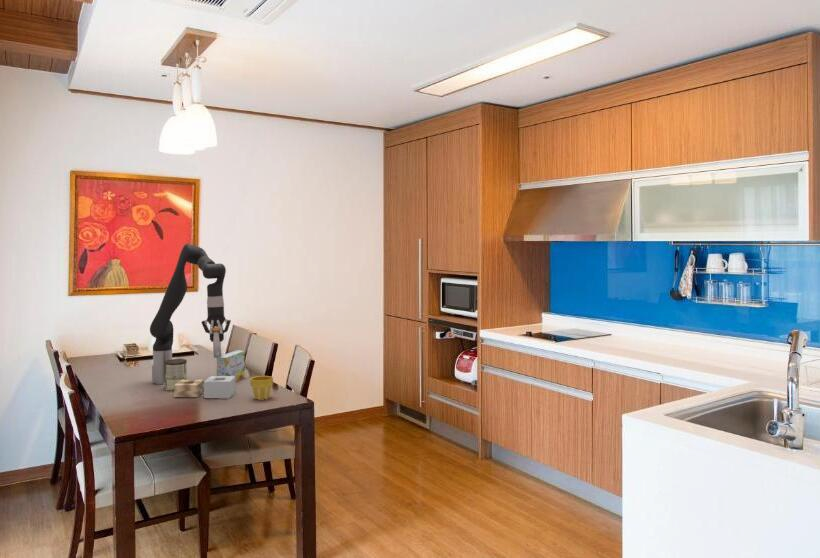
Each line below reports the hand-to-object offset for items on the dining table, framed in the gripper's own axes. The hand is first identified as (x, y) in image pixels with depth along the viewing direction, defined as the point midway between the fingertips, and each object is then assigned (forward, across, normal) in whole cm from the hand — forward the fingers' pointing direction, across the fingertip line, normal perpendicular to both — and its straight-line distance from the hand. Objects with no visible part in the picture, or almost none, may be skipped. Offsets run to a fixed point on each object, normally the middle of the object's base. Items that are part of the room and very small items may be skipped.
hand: (217, 341), depth 295 cm
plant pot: (+27, +21, -7) cm, 35 cm away
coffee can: (+26, -24, +15) cm, 39 cm away
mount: (+26, -15, +2) cm, 30 cm away
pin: (+8, 0, 0) cm, 8 cm away
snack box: (+26, 0, +29) cm, 39 cm away
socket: (+26, 0, 0) cm, 26 cm away
